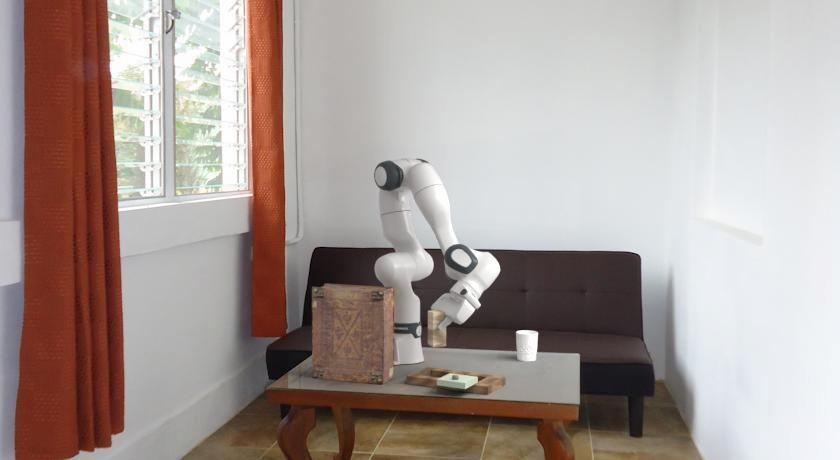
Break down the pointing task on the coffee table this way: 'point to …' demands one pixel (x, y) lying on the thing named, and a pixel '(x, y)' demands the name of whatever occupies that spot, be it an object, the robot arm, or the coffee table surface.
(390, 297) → the book
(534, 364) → the coffee table surface
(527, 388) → the coffee table surface
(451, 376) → the lid
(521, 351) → the white cup
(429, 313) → the maple block
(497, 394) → the coffee table surface
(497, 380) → the puzzle board
